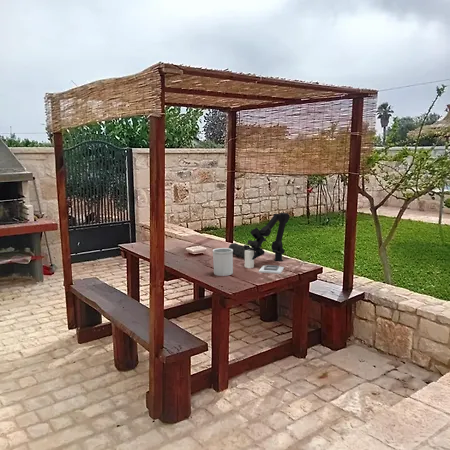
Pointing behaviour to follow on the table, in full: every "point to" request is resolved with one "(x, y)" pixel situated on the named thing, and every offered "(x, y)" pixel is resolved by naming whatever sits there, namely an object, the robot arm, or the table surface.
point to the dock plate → (271, 269)
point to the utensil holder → (223, 261)
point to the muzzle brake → (238, 250)
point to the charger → (249, 258)
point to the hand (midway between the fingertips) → (248, 258)
